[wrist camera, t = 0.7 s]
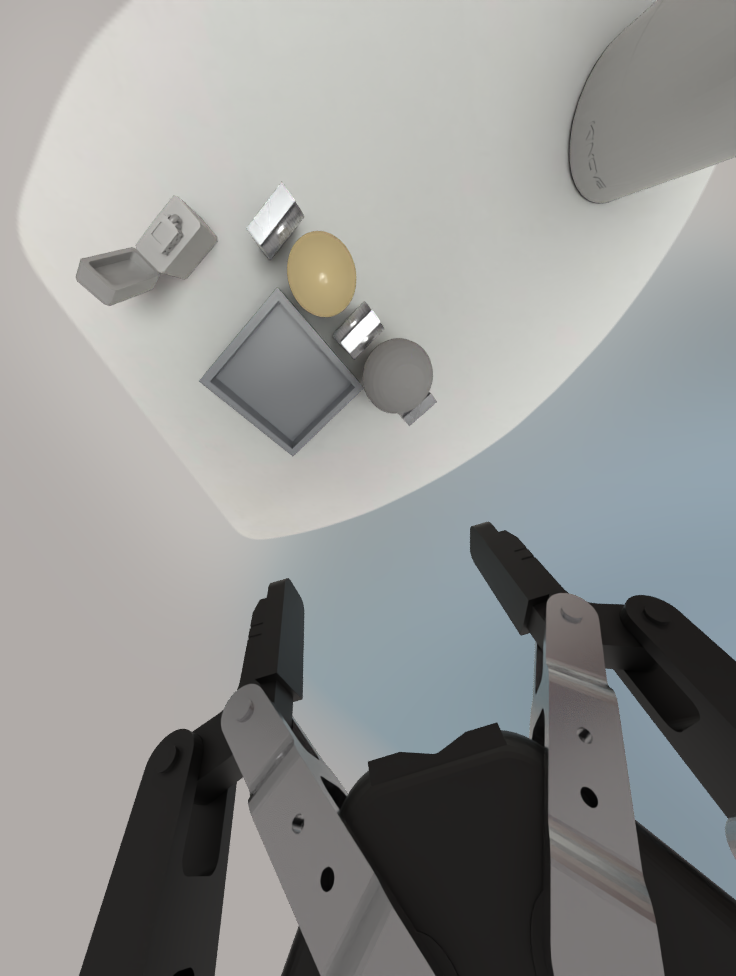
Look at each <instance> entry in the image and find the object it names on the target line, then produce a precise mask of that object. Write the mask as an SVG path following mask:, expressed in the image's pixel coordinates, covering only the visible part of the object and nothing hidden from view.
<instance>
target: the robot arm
mask: <svg viewBox="0 0 736 976" xmlns="http://www.w3.org/2000/svg"><path fill="white" fill-rule="evenodd" d="M734 157H736V0H657V1H656V2H655V3H654V4H653V5H652V6H651V7H649V8H648V9H647V10H646V11H645V12H644V13H643V14H642V15H640V16H639V17H638V18H637V19H636V20H635V21H634V22H632V23H631V24H630V25H629V26H628V27H627V28H626V29H625V30H623V31H622V32H621V33H620V34H619V35H618V36H617V37H616V38H615V39H614V41H613V42H612V43H611V44H610V45H609V46H608V47H607V49H606V50H605V51H604V53H603V54H602V56H601V57H600V59H599V60H598V61H597V63H596V65H595V67H594V68H593V70H592V72H591V74H590V76H589V78H588V80H587V82H586V84H585V87H584V89H583V92H582V94H581V97H580V99H579V102H578V106H577V109H576V113H575V117H574V120H573V125H572V132H571V139H570V165H571V172H572V176H573V179H574V182H575V185H576V187H577V188H578V190H579V191H580V193H581V195H583V196H584V197H585V198H586V199H588V200H589V201H592V202H595V203H608V202H611V201H613V200H616V199H619V198H622V197H625V196H627V195H630V194H633V193H636V192H639V191H641V190H644V189H647V188H650V187H653V186H656V185H659V184H662V183H665V182H667V181H670V180H673V179H676V178H679V177H681V176H684V175H687V174H690V173H692V172H695V171H698V170H701V169H704V168H706V167H709V166H712V165H715V164H717V163H720V162H723V161H726V160H728V159H731V158H734ZM470 552H471V556H472V559H473V561H474V563H475V565H476V566H477V568H478V569H479V571H480V573H481V574H482V575H483V577H484V579H485V580H486V582H487V583H488V585H489V586H490V588H491V590H492V591H493V593H494V594H495V596H496V598H497V599H498V601H499V602H500V604H501V605H502V607H503V609H504V610H505V612H506V613H507V615H508V616H509V618H510V620H511V621H512V623H513V624H514V626H515V627H516V629H517V630H518V632H519V634H520V635H525V634H528V633H531V635H532V636H533V638H534V639H535V641H536V643H535V661H534V686H533V687H534V688H533V701H532V708H531V716H530V717H531V718H530V734H529V738H527V737H525V736H523V735H520V734H517V733H514V732H509V731H502V730H500V728H499V726H498V723H494V724H490V725H487V726H484V727H480V728H477V729H474V730H471V731H467V732H465V733H464V734H463V735H461V736H460V737H458V738H457V739H456V740H454V741H453V742H452V743H451V744H449V745H448V746H447V747H445V748H444V749H443V750H441V751H440V752H439V753H436V754H424V753H423V754H422V753H406V752H398V753H395V754H392V755H388V756H385V757H382V758H378V759H375V760H372V761H369V762H368V766H369V771H368V772H367V773H365V774H364V775H363V776H362V777H361V778H360V779H359V780H358V781H357V783H356V784H355V785H354V786H353V788H352V789H351V790H350V792H349V794H348V793H347V791H346V790H345V788H344V787H343V786H342V784H341V783H340V781H339V780H338V778H337V777H336V776H335V774H334V773H333V772H332V771H331V769H330V768H329V767H328V766H327V765H326V764H325V762H324V761H323V760H322V758H321V757H320V755H319V754H318V752H317V751H316V749H315V748H314V747H313V745H312V744H311V742H310V741H309V739H308V738H307V736H306V735H305V733H304V732H303V730H302V729H301V727H300V726H299V724H298V723H297V722H296V720H295V719H294V717H293V716H292V711H293V702H295V701H298V700H301V699H302V698H303V650H304V649H303V648H304V605H303V602H302V599H301V597H300V595H299V594H298V592H297V590H296V589H295V587H294V586H293V584H292V582H291V580H290V579H289V578H287V579H283V580H280V581H276V582H273V583H270V585H269V587H268V594H267V598H265V599H261V600H260V601H259V603H258V604H257V606H256V608H255V610H254V612H253V615H252V620H251V629H250V631H249V636H248V637H249V640H248V641H247V647H246V652H245V657H244V663H243V668H242V673H241V679H240V683H239V687H238V689H237V691H236V692H235V693H234V694H233V695H232V696H231V698H230V699H229V700H228V702H227V704H226V705H225V708H224V710H223V711H222V712H220V713H219V714H218V715H216V716H215V717H213V718H212V719H210V720H209V721H207V722H206V723H205V724H203V725H202V726H200V727H199V728H197V729H196V730H194V731H193V732H191V731H189V730H187V729H179V730H176V731H174V732H172V733H170V734H169V735H168V736H167V737H165V738H164V739H163V740H162V741H161V742H160V744H159V745H158V746H157V747H156V749H155V750H154V751H153V753H152V755H151V756H150V758H149V760H148V762H147V765H146V767H145V770H144V774H143V777H142V780H141V783H140V786H139V789H138V792H137V796H136V799H135V802H134V805H133V808H132V811H131V814H130V818H129V821H128V824H127V827H126V830H125V834H124V836H123V840H122V843H121V846H120V849H119V852H118V855H117V858H116V861H115V865H114V868H113V871H112V874H111V877H110V880H109V883H108V886H107V890H106V893H105V896H104V899H103V903H102V905H101V908H100V912H99V915H98V918H97V921H96V924H95V927H94V930H93V933H92V937H91V940H90V943H89V946H88V950H87V953H86V956H85V959H84V962H83V965H82V968H81V971H80V974H79V976H215V967H216V958H217V950H218V940H219V932H220V924H221V914H222V906H223V898H224V889H225V880H226V871H227V863H228V854H229V845H230V837H231V828H232V819H233V810H234V802H235V792H236V784H237V781H239V780H240V779H241V778H242V777H243V778H244V780H245V782H246V784H247V786H248V789H249V792H250V798H249V800H248V805H249V810H250V813H251V816H252V818H253V821H254V823H255V825H256V827H257V830H258V832H259V834H260V837H261V839H262V841H263V844H264V845H265V848H266V851H267V853H268V855H269V857H270V860H271V862H272V864H273V867H274V869H275V871H276V873H277V876H278V878H279V880H280V883H281V885H282V887H283V890H284V892H285V894H286V897H287V899H288V901H289V904H290V906H291V908H292V911H293V913H294V915H295V917H296V920H297V922H298V924H299V927H298V930H297V933H296V935H295V938H294V941H293V944H292V947H291V949H290V953H289V955H288V958H287V961H286V963H285V966H284V969H283V972H282V975H281V976H736V900H735V899H734V898H732V897H731V896H730V895H729V894H727V893H726V892H725V891H724V890H722V889H721V888H720V887H719V886H717V885H716V884H715V883H714V882H712V881H711V880H710V879H709V878H707V877H706V876H705V875H703V874H702V873H701V872H700V871H699V870H697V869H696V868H695V867H694V866H692V865H691V864H690V863H688V862H687V861H686V860H685V859H684V858H682V857H681V856H680V855H679V854H677V853H676V852H675V851H674V850H672V849H671V848H670V847H669V846H667V845H666V844H665V843H663V842H662V841H661V840H660V839H658V838H657V837H656V836H655V835H653V834H652V833H651V832H650V831H648V830H647V829H646V828H645V827H644V826H642V825H641V824H640V823H639V822H637V821H636V820H635V818H634V811H633V804H632V798H631V790H630V783H629V777H628V770H627V763H626V756H625V749H624V742H623V735H622V728H621V721H620V714H619V708H618V702H617V698H616V695H615V692H614V691H613V689H611V688H610V687H609V686H608V683H607V678H606V670H605V668H607V669H613V670H615V672H616V673H617V675H618V676H619V677H620V679H621V680H622V681H623V682H624V684H625V685H626V686H627V688H628V689H629V690H630V691H631V693H632V694H633V696H634V697H635V698H636V699H637V701H638V702H639V703H640V705H641V706H642V707H643V709H644V710H645V711H646V712H647V714H648V715H649V716H650V718H651V719H652V720H653V722H654V723H655V724H656V725H657V727H658V728H659V729H660V731H661V732H662V733H663V735H664V736H665V737H666V738H667V740H668V741H669V742H670V744H671V745H672V746H673V748H674V749H675V750H676V751H677V753H678V754H679V755H680V757H681V758H682V759H683V760H684V762H685V763H686V764H687V766H688V767H689V768H690V769H691V771H692V772H693V774H694V775H695V776H696V777H697V779H698V780H699V781H700V783H701V784H702V785H703V787H704V788H705V789H706V790H707V792H708V793H709V794H710V796H711V797H712V798H713V800H714V801H715V802H716V803H717V805H718V806H719V807H720V809H721V810H722V811H723V813H724V814H725V815H726V816H727V818H728V820H727V822H726V826H725V830H726V831H725V832H726V838H727V842H728V844H729V847H730V849H731V851H732V853H733V855H734V857H735V859H736V661H735V660H734V659H732V658H731V657H730V656H729V655H728V654H727V653H726V652H725V651H723V650H722V649H721V648H720V647H719V646H717V644H716V643H714V642H713V641H712V640H711V639H710V638H709V637H708V636H707V635H705V634H704V633H703V632H702V631H701V630H700V629H699V628H698V627H696V626H695V625H694V624H693V623H692V622H691V621H690V620H689V619H687V618H686V617H685V616H684V615H683V614H682V613H681V612H680V611H678V610H677V609H676V608H675V607H673V606H672V605H670V604H668V603H666V602H665V601H662V600H660V599H658V598H655V597H651V596H645V595H636V596H633V597H631V598H629V599H628V600H627V601H626V603H625V605H621V604H620V605H619V604H596V603H589V602H587V601H585V600H584V599H582V598H580V597H578V596H576V595H573V594H569V593H568V592H567V591H565V590H564V589H563V588H562V587H561V585H560V584H559V583H558V582H557V581H556V580H555V579H554V578H553V576H552V575H551V574H550V573H549V572H548V571H547V570H546V569H545V568H544V566H543V565H542V564H541V563H540V562H539V561H538V560H537V559H536V558H535V557H534V556H533V554H532V553H531V552H530V551H529V550H528V549H527V548H526V546H525V545H524V544H523V543H522V542H521V541H520V540H519V539H518V538H517V537H516V536H514V535H513V534H511V533H509V532H507V531H506V530H504V531H500V532H498V531H497V530H496V529H495V527H494V526H493V525H492V524H491V523H490V522H485V523H482V524H478V525H475V526H471V528H470Z"/></svg>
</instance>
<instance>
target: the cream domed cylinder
mask: <svg viewBox="0 0 736 976" xmlns="http://www.w3.org/2000/svg"><path fill="white" fill-rule="evenodd" d="M287 276H288V282H289V285H290V288H291V291H292V293H293V295H294V297H295V299H296V300H297V302H298V303H299V304H300V305H301V306H302V307H303V308H304V309H305V310H306V311H308V312H309V313H311V314H313V315H316V316H320V317H331V316H334V315H337V314H339V313H340V312H342V311H343V310H344V309H345V308H346V307H347V306H348V305H349V303H350V301H351V300H352V297H353V295H354V292H355V287H356V270H355V265H354V262H353V259H352V257H351V254H350V252H349V251H348V249H347V248H346V246H345V245H344V244H343V243H342V242H341V241H340V240H339V239H338V238H337V237H335V236H333V235H332V234H329V233H327V232H323V231H313V232H310V233H307V234H305V235H303V236H302V237H301V238H299V239H298V240H297V241H296V243H295V244H294V246H293V247H292V249H291V251H290V254H289V258H288V263H287Z"/></svg>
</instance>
